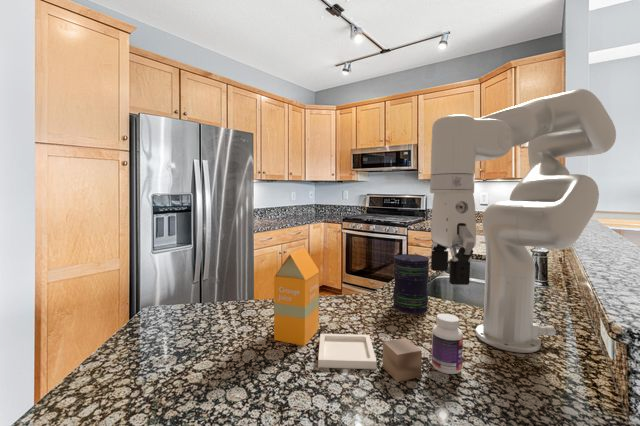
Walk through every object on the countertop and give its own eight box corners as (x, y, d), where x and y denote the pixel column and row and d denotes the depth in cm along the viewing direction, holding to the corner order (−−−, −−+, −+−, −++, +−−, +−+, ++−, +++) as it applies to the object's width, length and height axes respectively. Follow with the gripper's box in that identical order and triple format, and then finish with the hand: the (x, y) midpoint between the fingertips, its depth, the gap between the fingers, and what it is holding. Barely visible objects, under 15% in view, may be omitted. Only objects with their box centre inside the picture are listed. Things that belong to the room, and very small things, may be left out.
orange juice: (273, 340, 68) (273, 252, 67) (290, 324, 77) (290, 246, 76) (305, 346, 66) (305, 254, 65) (319, 329, 74) (320, 248, 73)
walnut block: (405, 362, 60) (405, 338, 59) (420, 377, 55) (421, 350, 55) (382, 367, 58) (383, 341, 58) (396, 382, 53) (397, 354, 53)
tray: (369, 341, 68) (369, 334, 68) (376, 369, 57) (376, 361, 57) (320, 340, 69) (320, 333, 68) (318, 367, 58) (318, 359, 57)
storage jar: (400, 299, 96) (401, 252, 95) (432, 306, 90) (433, 256, 89) (387, 309, 88) (388, 257, 87) (421, 317, 82) (423, 262, 81)
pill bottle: (465, 377, 55) (467, 324, 54) (433, 373, 56) (435, 321, 55) (457, 361, 60) (459, 313, 60) (429, 358, 61) (430, 310, 61)
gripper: (497, 183, 47) (493, 291, 48) (453, 187, 65) (450, 266, 66) (449, 182, 48) (445, 290, 49) (418, 186, 65) (415, 265, 66)
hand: (448, 276), depth 57 cm, fingers open, 9 cm apart
